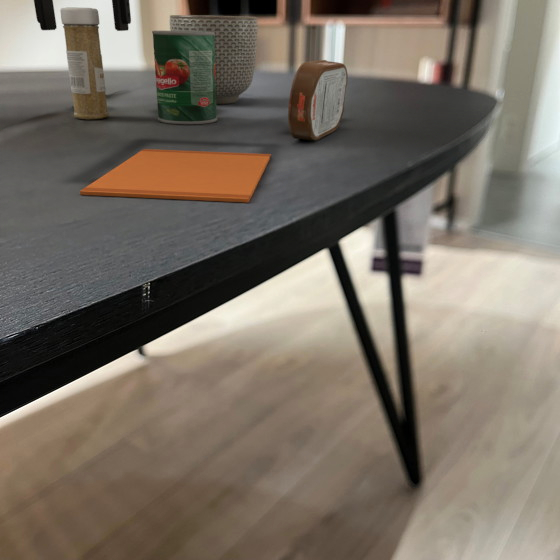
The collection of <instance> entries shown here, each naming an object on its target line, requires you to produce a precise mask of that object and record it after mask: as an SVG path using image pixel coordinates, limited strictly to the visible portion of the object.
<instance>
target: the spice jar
mask: <svg viewBox="0 0 560 560" xmlns="http://www.w3.org/2000/svg"><path fill="white" fill-rule="evenodd" d="M59 12H60V19H61V24H62V25H63V26H62V28H63V31H64V39H65V48H66V50H65V52H66V61H67V67H68V76H69V84H70V91H71V93H72V101H73V102H72V103H73V108H74V112H73V116H74V117H75V118H76V119H78V120H88V121H89V120H94V121H95V120H103V119H106V118H108V117H109V111H108V102H107V94H106V80H105V73H104V64H103V55H102V50H101V41H100V31H99V28H100V26H99V25H100V16H99V9H96V8H93V7H77V6H76V7H71V6H70V7H67V6H66V7H61V8H60V11H59Z"/></svg>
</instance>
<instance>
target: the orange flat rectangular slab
mask: <svg viewBox="0 0 560 560" xmlns="http://www.w3.org/2000/svg"><path fill="white" fill-rule="evenodd" d="M271 156H272V154H271V153H252V152H250V153H249V152H225V151H200V150H177V149H175V150H174V149H154V148H153V149H152V148H151V149H150V148H143V149H141V150H140V151H138V152H137V153H136V154H134V155H132V156H131V157H129V158H128V159H127V160H125V161H123V162H122V163H120V164H119V165H118V166H116V167H114V168H113V169H111V170H109V171H108V172H107V173H105V174H104V175H102V176H101V177H99V178H98V179H96V180H95V181H93V182H92V183H89V185H87V186H85V187H83V188H82V189H81V190H79V195H80V196H101V197H121V198H140V199H141V198H143V199H162V200H181V201H182V200H183V201H204V202H224V203H225V202H227V203H245V204H246V203H247V204H249V203H250V201H251V199H252V196H253V195H254V193H255V191H256V188H257V187H258V184H259V183H260V180H261V178H262V176H263V174H264V172H265V170H266V168H267V166H268V164H269V162H270V160H271Z"/></svg>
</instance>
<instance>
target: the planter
mask: <svg viewBox="0 0 560 560" xmlns="http://www.w3.org/2000/svg"><path fill="white" fill-rule="evenodd" d="M258 23H259V22H258V18H257V17H256V16H232V15H197V14H196V15H194V14H192V15H191V14H189V15H188V14H187V15H186V14H170V15H169V31H200V32H214V33H215V35H214V43H215V73H216V75H215V78H216V105H228V104H234V103H237V101H238V100H239V98H240V95H241V94H243V93H245V92H246V91H247V90H248V89H249V88H250V87H251V85H252V82H253V79H254V76H255V75H254V74H255V67H256V59H257V45H258V44H257V43H258V28H259V26H258V25H259V24H258Z"/></svg>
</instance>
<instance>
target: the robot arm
mask: <svg viewBox="0 0 560 560" xmlns="http://www.w3.org/2000/svg"><path fill="white" fill-rule="evenodd" d="M33 4H34V5H33V6H34V11H35V17H36V21H37V23H39V28H40V30H41V31H55V30H57V20H56V13H55V6H54V0H33ZM111 5H112V14H113V24H114V30H116V32H125V31H127V32H128V31H129V25H130V24H131V22H132V16H131V14H132V13H131V6H130V5H131V4H130V0H111Z"/></svg>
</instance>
